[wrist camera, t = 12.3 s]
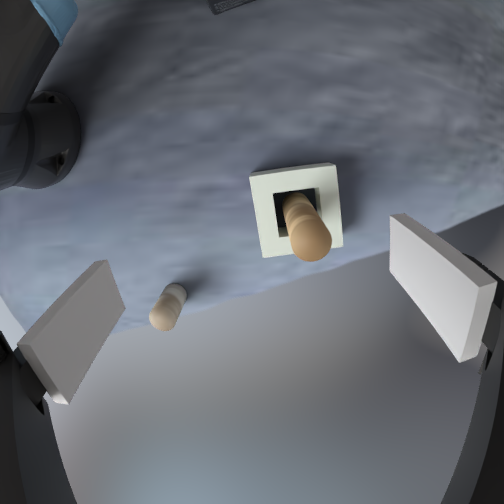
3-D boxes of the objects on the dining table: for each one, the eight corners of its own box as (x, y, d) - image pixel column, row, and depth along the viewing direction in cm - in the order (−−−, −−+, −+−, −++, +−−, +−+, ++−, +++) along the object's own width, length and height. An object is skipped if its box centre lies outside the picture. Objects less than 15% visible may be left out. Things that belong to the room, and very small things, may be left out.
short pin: (167, 305, 46) (154, 331, 39) (161, 284, 44) (145, 309, 38) (189, 303, 45) (178, 330, 39) (183, 282, 44) (170, 306, 37)
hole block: (263, 246, 41) (262, 257, 38) (250, 172, 38) (249, 176, 34) (336, 236, 40) (343, 246, 37) (328, 162, 37) (335, 165, 33)
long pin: (284, 220, 40) (293, 264, 27) (280, 194, 39) (288, 225, 26) (311, 217, 40) (333, 258, 27) (307, 190, 38) (330, 219, 25)
